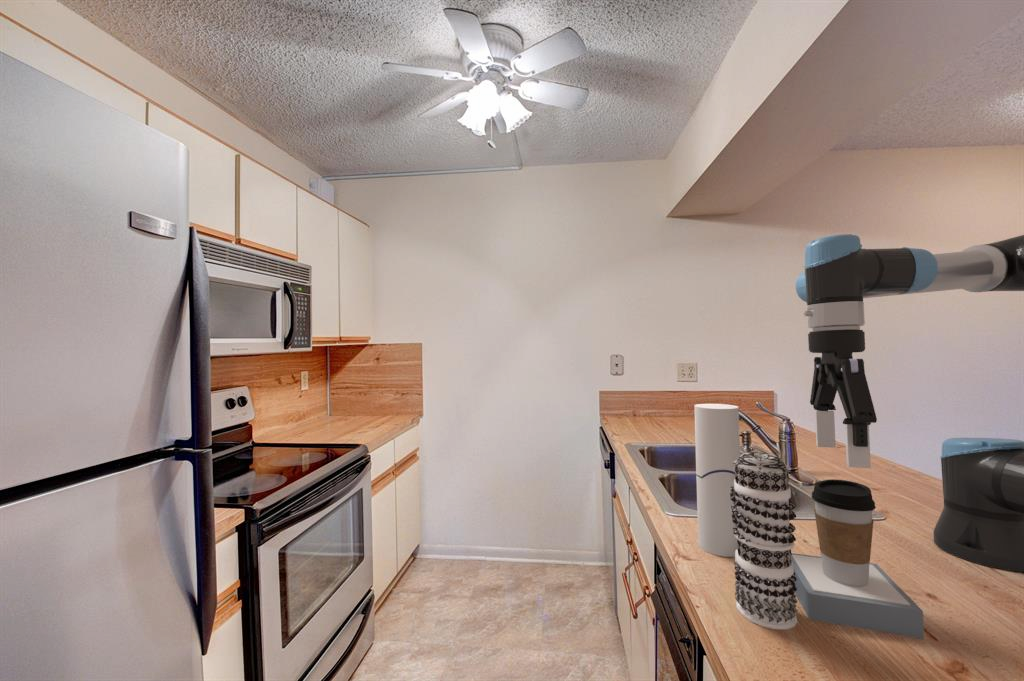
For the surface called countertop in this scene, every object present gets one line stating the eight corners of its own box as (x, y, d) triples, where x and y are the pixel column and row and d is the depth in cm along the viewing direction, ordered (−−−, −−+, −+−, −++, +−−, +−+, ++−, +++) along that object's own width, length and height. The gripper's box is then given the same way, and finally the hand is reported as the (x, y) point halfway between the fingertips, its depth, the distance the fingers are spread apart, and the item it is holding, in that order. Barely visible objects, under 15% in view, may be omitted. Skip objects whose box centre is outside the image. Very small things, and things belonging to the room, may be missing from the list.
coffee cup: (888, 582, 67) (885, 488, 68) (862, 597, 64) (859, 497, 64) (829, 559, 75) (826, 475, 75) (803, 571, 71) (800, 482, 71)
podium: (877, 586, 73) (876, 562, 74) (924, 639, 60) (922, 609, 60) (784, 573, 78) (784, 551, 78) (809, 619, 65) (808, 592, 65)
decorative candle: (720, 606, 69) (716, 453, 69) (753, 589, 73) (749, 446, 74) (779, 639, 61) (773, 466, 61) (811, 618, 65) (806, 457, 66)
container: (749, 558, 84) (744, 409, 85) (703, 555, 86) (699, 408, 86) (735, 539, 92) (731, 403, 93) (694, 536, 94) (690, 403, 95)
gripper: (788, 332, 83) (792, 439, 83) (837, 327, 60) (843, 476, 59) (833, 330, 81) (838, 441, 80) (903, 324, 57) (910, 480, 57)
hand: (840, 456), depth 70 cm, fingers open, 13 cm apart
